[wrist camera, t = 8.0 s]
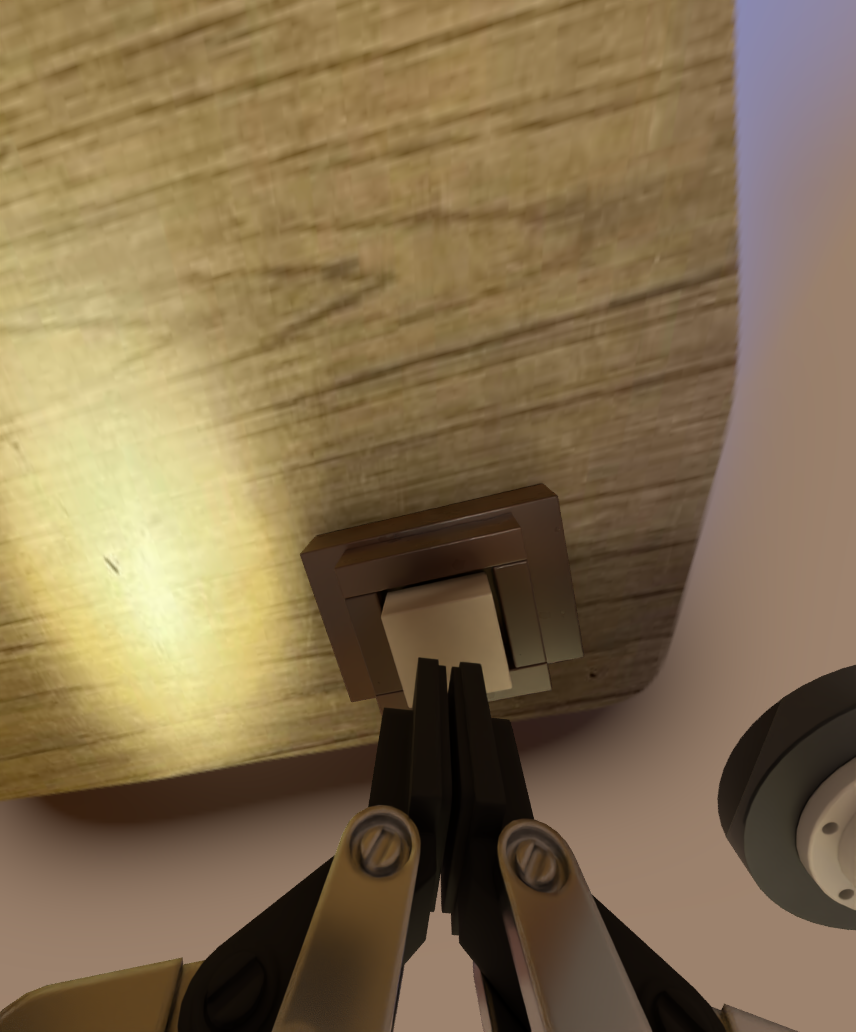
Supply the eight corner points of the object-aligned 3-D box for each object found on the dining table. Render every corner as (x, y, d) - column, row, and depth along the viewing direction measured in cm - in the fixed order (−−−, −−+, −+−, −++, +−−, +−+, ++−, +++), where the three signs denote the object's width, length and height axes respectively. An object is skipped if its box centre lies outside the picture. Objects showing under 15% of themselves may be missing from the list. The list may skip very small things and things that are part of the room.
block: (543, 483, 17) (573, 507, 14) (568, 629, 19) (601, 687, 15) (314, 535, 18) (282, 572, 14) (359, 670, 20) (341, 735, 16)
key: (485, 570, 15) (491, 593, 13) (505, 657, 16) (513, 689, 14) (386, 591, 15) (380, 616, 13) (411, 676, 16) (408, 709, 14)
